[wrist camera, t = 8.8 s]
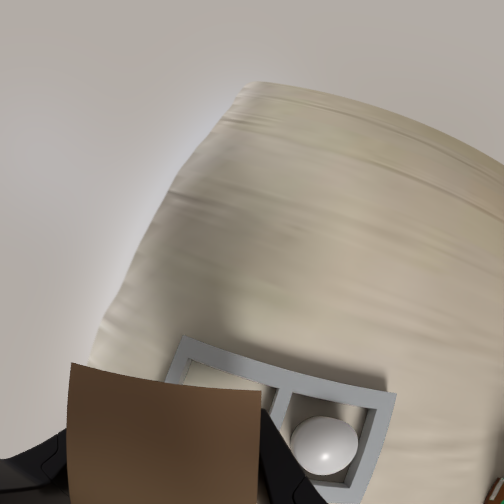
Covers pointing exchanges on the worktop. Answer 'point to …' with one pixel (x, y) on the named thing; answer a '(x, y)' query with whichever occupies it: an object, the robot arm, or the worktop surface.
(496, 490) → the food container
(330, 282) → the worktop surface
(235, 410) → the walnut block
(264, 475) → the robot arm
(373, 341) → the worktop surface
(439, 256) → the worktop surface
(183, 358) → the grey divided frame
